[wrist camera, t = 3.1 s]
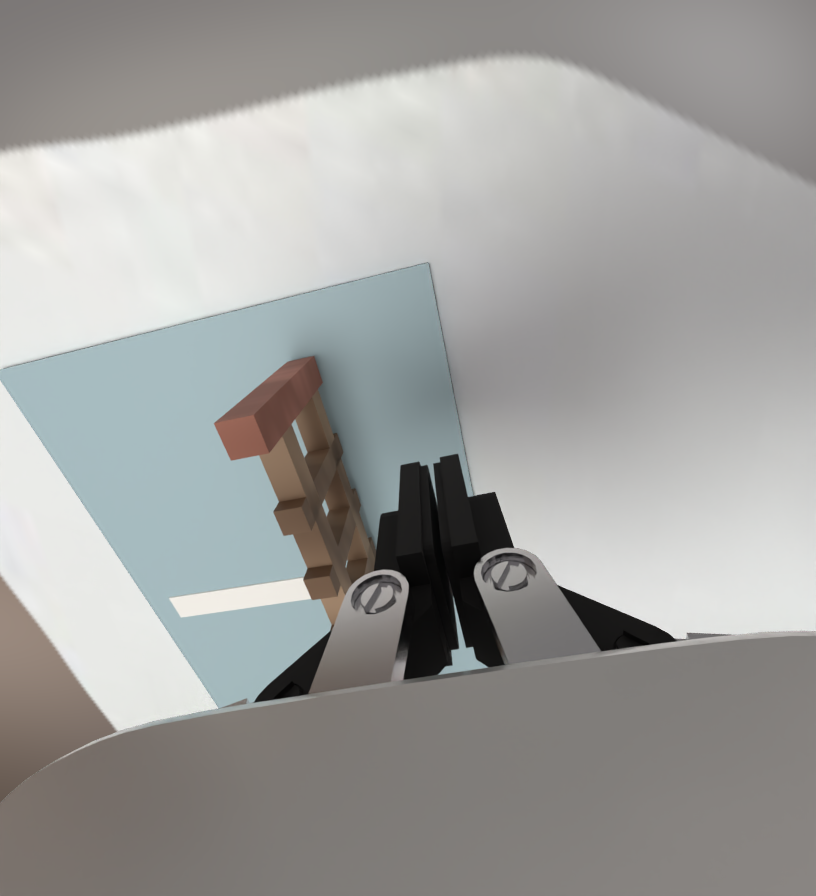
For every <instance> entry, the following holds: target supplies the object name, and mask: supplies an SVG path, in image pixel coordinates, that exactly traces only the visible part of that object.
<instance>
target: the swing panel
mask: <svg viewBox="0 0 816 896" xmlns="http://www.w3.org/2000/svg"><path fill="white" fill-rule="evenodd" d="M322 383H323V381H322V378H321V375H320V372H319V369H318V366H317V363H316V360H315V357H314V356H310V357H306V358H301V359H297V360H293V361H288V362H286V363H285V364H284V365H283V366H282V367H280V368H279V369H278V370H277V371H276V372H274V373H273V374H272V375H271V376H270V377H268V378H267V379H266V380H265V381H264V382H262V383H261V384H260V385H259V386H258V387H256V388H255V389H254V390H253V391H252V392H251V393H249V394H248V395H247V396H246V397H245V398H243V399H242V400H241V401H240V402H239V403H237V404H236V405H235V406H234V407H233V408H231V409H230V410H229V411H228V412H227V413H225V414H224V415H223V416H222V417H221V418H219V419H218V420H217V421H216V422H215V423H214V425H215V427H216V430H217V432H218V434H219V436H220V438H221V440H222V443H223V445H224V447H225V449H226V451H227V453H228V456H229V458H230V460H231V461H233V460H238V459H243V458H248V457H253V456H258V455H259V457H260V459H261V461H262V464H263V466H264V468H265V471H266V473H267V475H268V478H269V480H270V482H271V485H272V487H273V489H274V492H275V494H276V496H277V499H278V501H279V503H278V504H277V506H276V508H275V510H274V511H273V513H274V515H275V517H276V520H277V522H278V524H279V527H280V529H281V531H282V533H283V536H287V535H293V536H294V538H295V541H296V543H297V545H298V548H299V550H300V552H301V555H302V557H303V559H304V562H305V564H306V566H307V571H306V573H305V576H304V579H303V581H304V583H305V586H306V588H307V590H308V592H309V595H310V597H311V599H312V600H317V599H321V601H322V604H323V606H324V608H325V611H326V613H327V615H328V618H329V620H330V622H331V625H332V626H331V629H330V631H331V630H332V629H333V626H334V624H335V621H336V618H337V616H338V613H339V610H340V608H341V605H342V602H343V600H344V597H345V595H346V593H347V591H348V589H349V587H350V586H351V585H352V584H353V583H354V582H355V581H356V580H358V579H359V578H361V577H362V576H364V575H366V574H368V573H371V572H373V571H374V565H375V556H376V549H375V546H374V543H373V540H372V537H369V538H368V537H367V534H366V531H365V528H364V525H363V522H362V519H361V516H360V513H359V511H360V507H361V503H360V500H359V497H358V494H357V491H356V488H354V489H351V486H350V483H349V480H348V477H347V474H346V471H345V468H344V465H343V462H342V459H341V457H342V455H343V449H342V446H341V443H340V440H339V437H338V434H337V433H334V434H333V432H332V429H331V426H330V423H329V420H328V417H327V414H326V412H325V409H324V406H323V403H322V400H321V397H320V394H319V391H318V388H319V387H320V386H321V384H322ZM294 420H296V423H297V426H298V429H299V431H300V434H301V437H302V439H303V442H304V445H305V447H306V450H307V454H306V456H305V458H304V456H303V453H302V450H301V448H300V445H299V442H298V440H297V437H296V434H295V432H294V429H293V427H292V423H293V421H294ZM324 499H325V501H326V504H327V506H328V509H329V512H328V514H327V517H326V514H325V511H324V509H323V506H322V504H323V501H324ZM347 560H348V562H347ZM346 562H347V566H346ZM345 566H346V567H345Z"/></svg>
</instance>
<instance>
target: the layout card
mask: <svg viewBox="0 0 816 896" xmlns="http://www.w3.org/2000/svg"><path fill="white" fill-rule="evenodd" d="M310 356H314V357H315V360H316V363H317V366H318V369H319V372H320V375H321V378H322V381H323V383H322V384H321V386H320V387H319V388H318V391H319V394H320V397H321V400H322V403H323V406H324V409H325V412H326V414H327V417H328V420H329V423H330V426H331V429H332V432H333V434H334V433H337V434H338V437H339V440H340V443H341V446H342V449H343V455H342V457H341V459H342V462H343V465H344V468H345V471H346V474H347V477H348V480H349V483H350V486H351V489H354V488H356V491H357V494H358V497H359V500H360V503H361V507H360V511H359V513H360V516H361V519H362V522H363V525H364V528H365V531H366V534H367V537H368V538H369V537H372V540H373V543H374V546H375V549H376V547H377V539H378V530H379V522H380V516H381V514H382V513H387V512H392V511H397V510H398V504H399V484H400V466H401V465H404V464H409V463H413V462H418V461H419V462H420V465H421V466H423V465H428V468H429V472H430V476H431V480H432V485H433V489H434V493H435V497H436V487H435V477H434V467H433V463H438V462H440V457H443V456H448V455H453V454H458V455H459V460H460V464H461V468H462V473H463V477H464V482H465V486H466V490H467V495H468V497H471V496H473V491H472V486H471V481H470V476H469V471H468V466H467V460H466V455H465V450H464V445H463V440H462V434H461V429H460V424H459V419H458V414H457V409H456V403H455V398H454V393H453V388H452V383H451V377H450V372H449V367H448V362H447V357H446V352H445V346H444V341H443V336H442V331H441V326H440V320H439V315H438V310H437V305H436V300H435V295H434V289H433V284H432V279H431V274H430V269H429V263H424V264H420V265H416V266H412V267H408V268H404V269H400V270H396V271H392V272H388V273H384V274H380V275H376V276H372V277H368V278H364V279H360V280H356V281H352V282H348V283H344V284H340V285H336V286H332V287H328V288H324V289H320V290H316V291H312V292H308V293H304V294H300V295H296V296H292V297H288V298H284V299H280V300H276V301H272V302H268V303H264V304H260V305H256V306H252V307H248V308H244V309H240V310H236V311H232V312H228V313H224V314H220V315H216V316H212V317H208V318H204V319H200V320H196V321H192V322H188V323H184V324H180V325H176V326H172V327H168V328H164V329H160V330H156V331H152V332H148V333H144V334H140V335H136V336H132V337H128V338H124V339H120V340H116V341H112V342H108V343H104V344H100V345H96V346H92V347H88V348H84V349H80V350H77V351H73V352H69V353H65V354H61V355H57V356H53V357H49V358H45V359H41V360H37V361H33V362H29V363H25V364H21V365H17V366H13V367H9V368H5V369H1V370H0V380H1V382H2V383H3V385H4V386H5V388H6V389H7V391H8V392H9V394H10V395H11V397H12V398H13V400H14V401H15V403H16V404H17V406H18V407H19V409H20V410H21V412H22V413H23V415H24V416H25V418H26V419H27V421H28V422H29V424H30V425H31V427H32V428H33V430H34V431H35V433H36V434H37V436H38V437H39V439H40V440H41V442H42V443H43V445H44V446H45V448H46V449H47V451H48V452H49V454H50V455H51V457H52V458H53V460H54V461H55V463H56V464H57V466H58V467H59V469H60V470H61V472H62V473H63V475H64V476H65V478H66V479H67V481H68V482H69V484H70V485H71V487H72V488H73V490H74V491H75V493H76V494H77V496H78V497H79V499H80V500H81V502H82V503H83V505H84V506H85V508H86V509H87V511H88V512H89V514H90V515H91V517H92V518H93V520H94V521H95V523H96V524H97V526H98V527H99V529H100V530H101V532H102V533H103V535H104V536H105V538H106V539H107V541H108V542H109V544H110V545H111V547H112V548H113V550H114V551H115V553H116V554H117V556H118V557H119V559H120V560H121V562H122V563H123V565H124V567H125V568H126V570H127V571H128V573H129V574H130V576H131V577H132V579H133V580H134V582H135V583H136V585H137V586H138V588H139V589H140V591H141V592H142V594H143V595H144V597H145V598H146V600H147V601H148V603H149V604H150V606H151V607H152V609H153V610H154V612H155V613H156V615H157V616H158V618H159V619H160V621H161V622H162V624H163V625H164V627H165V628H166V630H167V631H168V633H169V634H170V636H171V637H172V639H173V640H174V642H175V643H176V645H177V646H178V648H179V649H180V651H181V652H182V654H183V655H184V657H185V658H186V660H187V661H188V663H189V664H190V666H191V667H192V669H193V670H194V672H195V673H196V675H197V676H198V678H199V679H200V681H201V682H202V684H203V685H204V687H205V688H206V690H207V691H208V693H209V694H210V696H211V697H212V699H213V700H214V702H215V703H216V705H217V706H218V708H222V707H224V706H227V705H230V704H233V703H235V702H238V701H241V700H243V699H246V698H247V699H248V701H249V702H250V703H252V702H254V701H255V700H256V698H257V696H258V695H259V694H260V693H261V692H262V691H263V690H264V689H265V687H266V686H267V685H268V684H270V683H271V682H272V681H273V680H274V679H275V678H277V677H278V676H279V675H280V674H281V673H282V672H283V671H285V670H286V669H287V668H288V667H289V666H290V665H292V664H293V663H294V662H295V661H296V660H297V659H298V658H300V657H301V656H302V655H303V654H304V653H305V652H307V651H308V650H309V649H310V648H311V647H312V646H313V645H315V644H316V643H317V642H318V641H319V640H320V639H322V638H323V637H324V636H325V635H326V634H327V633H328V632H330V629H331V626H332V625H331V622H330V620H329V618H328V615H327V613H326V611H325V608H324V606H323V604H322V601H321V599H317V600H312V599H311V597H310V595H309V592H308V590H307V588H306V586H305V583H304V581H303V579H304V576H305V573H306V571H307V566H306V564H305V562H304V559H303V557H302V555H301V552H300V550H299V548H298V545H297V543H296V541H295V538H294V536H293V535H287V536H283V533H282V531H281V529H280V527H279V524H278V522H277V520H276V517H275V515H274V513H273V511H274V510H275V508H276V506H277V504H278V503H279V501H278V499H277V496H276V494H275V492H274V489H273V487H272V485H271V482H270V480H269V478H268V475H267V473H266V471H265V468H264V466H263V464H262V461H261V459H260V457H259V455H258V456H253V457H248V458H243V459H238V460H233V461H231V460H230V458H229V456H228V453H227V451H226V449H225V447H224V445H223V443H222V440H221V438H220V436H219V434H218V432H217V430H216V427H215V425H214V423H215V422H216V421H217V420H218V419H219V418H221V417H222V416H223V415H224V414H225V413H227V412H228V411H229V410H230V409H231V408H233V407H234V406H235V405H236V404H237V403H239V402H240V401H241V400H242V399H243V398H245V397H246V396H247V395H248V394H249V393H251V392H252V391H253V390H254V389H255V388H256V387H258V386H259V385H260V384H261V383H262V382H264V381H265V380H266V379H267V378H268V377H270V376H271V375H272V374H273V373H274V372H276V371H277V370H278V369H279V368H280V367H282V366H283V365H284V364H285V363H286V362H288V361H293V360H297V359H301V358H306V357H310ZM292 427H293V429H294V432H295V434H296V437H297V440H298V442H299V445H300V448H301V450H302V453H303V456H304V458H305V456H306V454H307V450H306V447H305V445H304V442H303V439H302V437H301V434H300V431H299V429H298V426H297V423H296V420H294V421H293V423H292ZM436 501H437V497H436ZM322 506H323V509H324V511H325V514H326V517H327V514H328V512H329V509H328V506H327V504H326V501H325V499H324V501H323V504H322ZM347 562H348V560H347ZM347 562H346V566H347ZM346 566H345V567H346ZM453 599H454V597H453ZM454 608H455V616H456V624H457V633H458V641H459V649H457V650H451V653H452V663H453V665H452V666H446V667H444V669H443V670H442V671H441V672H440V673H439V674H438V675H441V674H448V673H455V672H461V671H468V670H475V669H482V668H489V667H487V666H486V665H484V664H482V663H481V662H478V660H476V657H475V653H474V649H473V647H470V648H466V646H465V642H464V638H463V634H462V629H461V625H460V621H459V617H458V613H457V609H456V605H455V601H454Z"/></svg>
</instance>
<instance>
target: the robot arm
mask: <svg viewBox="0 0 816 896" xmlns="http://www.w3.org/2000/svg"><path fill="white" fill-rule="evenodd" d="M433 467H434V477H435V487H436V497H437V501H436V497H435V493H434V489H433V485H432V480H431V476H430V472H429V468H428V465H423V466H421V465H420V462H419V461H418V462H413V463H409V464H404V465H401V466H400V484H399V504H398V510H397V511H392V512H387V513H382V514H381V516H380V522H379V530H378V539H377V547H376V556H375V565H374V571H373V572H371V573H368V574H366V575H364V576H362V577H361V578H359V579H358V580H356V581H355V582H354V583H353V584H352V585H351V586H350V587H349V589H348V591H347V593H346V595H345V597H344V600H343V602H342V605H341V608H340V610H339V613H338V616H337V618H336V621H335V624H334V626H333V629H332V630H331V631H330V632H328V633H327V634H326V635H325V636H324V637H323V638H322V639H320V640H319V641H318V642H317V643H316V644H315V645H313V646H312V647H311V648H310V649H309V650H308V651H307V652H305V653H304V654H303V655H302V656H301V657H300V658H298V659H297V660H296V661H295V662H294V663H293V664H292V665H290V666H289V667H288V668H287V669H286V670H285V671H283V672H282V673H281V674H280V675H279V676H278V677H277V678H275V679H274V680H273V681H272V682H271V683H270V684H268V685H267V686H266V687H265V689H264V690H263V691H262V692H261V693H260V694H259V695H258V696H257V698H256V700H255V701H254V702H252V703H250V702H249V701H248V699H247V698H246V699H243V700H241V701H238V702H235V703H233V704H230V705H227V706H224V707H222V708H219V709H214V710H208V711H203V712H197V713H192V714H187V715H182V716H177V717H172V718H167V719H162V720H157V721H153V722H149V723H146V724H142V725H139V726H135V727H131V728H128V729H124V730H121V731H119V732H116V733H114V734H111V735H108V736H106V737H103V738H100V739H98V740H95V741H93V742H91V743H89V744H87V745H85V746H83V747H81V748H79V749H77V750H75V751H73V752H71V753H69V754H67V755H65V756H63V757H61V758H59V759H57V760H56V761H54V762H52V763H51V764H49V765H48V766H46V767H44V768H42V769H41V770H40V771H38V772H37V773H35V774H34V775H32V776H31V777H29V778H28V779H26V780H25V781H24V782H23V783H21V784H20V785H19V786H18V787H17V788H16V789H14V790H13V791H12V792H11V793H10V794H9V795H8V796H7V797H6V798H5V799H4V800H3V801H2V802H1V803H0V896H816V631H779V632H759V633H749V634H739V635H726V634H702V633H687V636H686V639H674V638H673V637H672V636H671V635H670V634H668V633H667V632H665V631H663V630H661V629H659V628H657V627H656V626H653V625H651V624H648V623H646V622H644V621H641V620H639V619H637V618H634V617H632V616H629V615H627V614H625V613H622V612H620V611H618V610H615V609H613V608H610V607H608V606H606V605H603V604H601V603H599V602H596V601H594V600H592V599H589V598H587V597H584V596H582V595H580V594H577V593H575V592H573V591H570V590H568V589H565V588H563V587H561V586H558V585H557V584H556V583H555V581H554V580H553V578H552V577H551V575H550V574H549V572H548V571H547V569H546V568H545V566H544V565H543V563H542V562H541V561H540V560H539V558H538V557H537V556H536V555H534V554H532V553H530V552H528V551H526V550H522V549H518V548H514V546H513V543H512V540H511V537H510V534H509V531H508V529H507V526H506V523H505V520H504V517H503V514H502V511H501V508H500V505H499V502H498V499H497V496H496V494H495V492H492V493H487V494H481V495H476V496H471V497H468V495H467V490H466V486H465V482H464V477H463V473H462V468H461V464H460V460H459V455H458V454H453V455H448V456H443V457H440V462H438V463H433ZM453 597H454V599H453ZM454 601H455V605H456V609H457V613H458V617H459V621H460V625H461V629H462V634H463V638H464V642H465V646H466V648H470V647H473V649H474V653H475V657H476V660H478V662H481V663H482V664H484V665H486V666H487V667H489V668H482V669H475V670H468V671H461V672H455V673H448V674H441V675H438V674H439V673H440V672H441V671H442V670H443V669H444V667H446V666H452V665H453V663H452V653H451V650H457V649H459V641H458V633H457V624H456V616H455V608H454Z"/></svg>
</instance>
